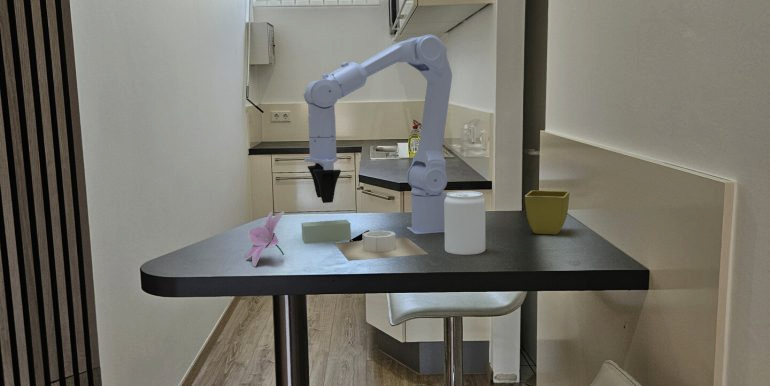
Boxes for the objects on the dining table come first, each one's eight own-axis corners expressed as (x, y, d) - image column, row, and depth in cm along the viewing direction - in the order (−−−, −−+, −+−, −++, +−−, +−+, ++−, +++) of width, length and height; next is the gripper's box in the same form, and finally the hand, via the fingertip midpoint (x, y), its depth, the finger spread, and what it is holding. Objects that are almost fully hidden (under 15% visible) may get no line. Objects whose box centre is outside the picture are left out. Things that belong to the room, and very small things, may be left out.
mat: (406, 240, 154) (406, 237, 154) (428, 257, 138) (428, 253, 138) (334, 245, 150) (334, 242, 150) (348, 263, 134) (348, 260, 134)
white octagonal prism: (390, 243, 148) (390, 229, 147) (398, 250, 142) (398, 235, 141) (360, 246, 146) (360, 231, 146) (367, 252, 140) (367, 238, 140)
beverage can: (459, 259, 136) (458, 198, 134) (437, 251, 143) (436, 193, 141) (493, 254, 139) (493, 194, 138) (470, 246, 146) (470, 189, 145)
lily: (252, 257, 146) (230, 221, 142) (304, 234, 146) (283, 197, 141) (252, 289, 135) (228, 251, 131) (307, 265, 135) (285, 226, 130)
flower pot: (523, 235, 156) (523, 195, 155) (530, 227, 164) (531, 189, 163) (564, 237, 153) (564, 196, 151) (569, 229, 161) (570, 191, 159)
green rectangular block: (347, 239, 157) (346, 219, 156) (351, 243, 153) (350, 223, 152) (302, 242, 154) (301, 222, 154) (305, 247, 150) (304, 226, 149)
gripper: (299, 135, 156) (302, 195, 158) (308, 140, 142) (311, 206, 144) (331, 134, 158) (333, 194, 160) (342, 138, 144) (344, 204, 146)
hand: (324, 199), depth 152 cm, fingers open, 7 cm apart
